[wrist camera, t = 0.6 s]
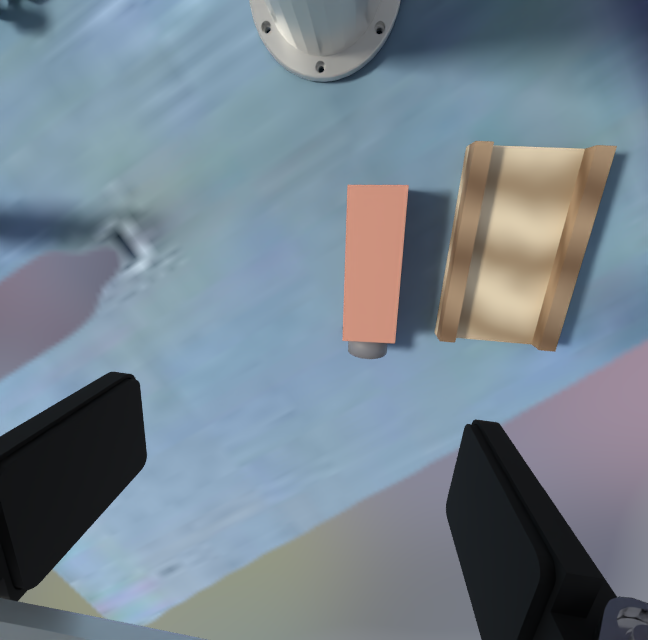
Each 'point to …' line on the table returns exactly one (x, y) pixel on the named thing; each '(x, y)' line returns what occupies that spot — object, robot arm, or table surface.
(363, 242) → the salmon rectangular block
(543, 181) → the cradle
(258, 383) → the table surface
